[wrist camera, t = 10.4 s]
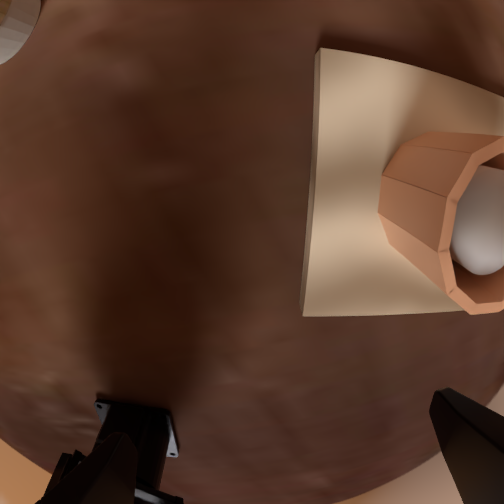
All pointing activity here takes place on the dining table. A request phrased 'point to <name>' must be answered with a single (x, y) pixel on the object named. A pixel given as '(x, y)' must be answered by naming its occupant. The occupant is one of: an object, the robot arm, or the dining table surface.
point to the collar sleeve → (439, 210)
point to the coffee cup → (16, 25)
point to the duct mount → (369, 180)
